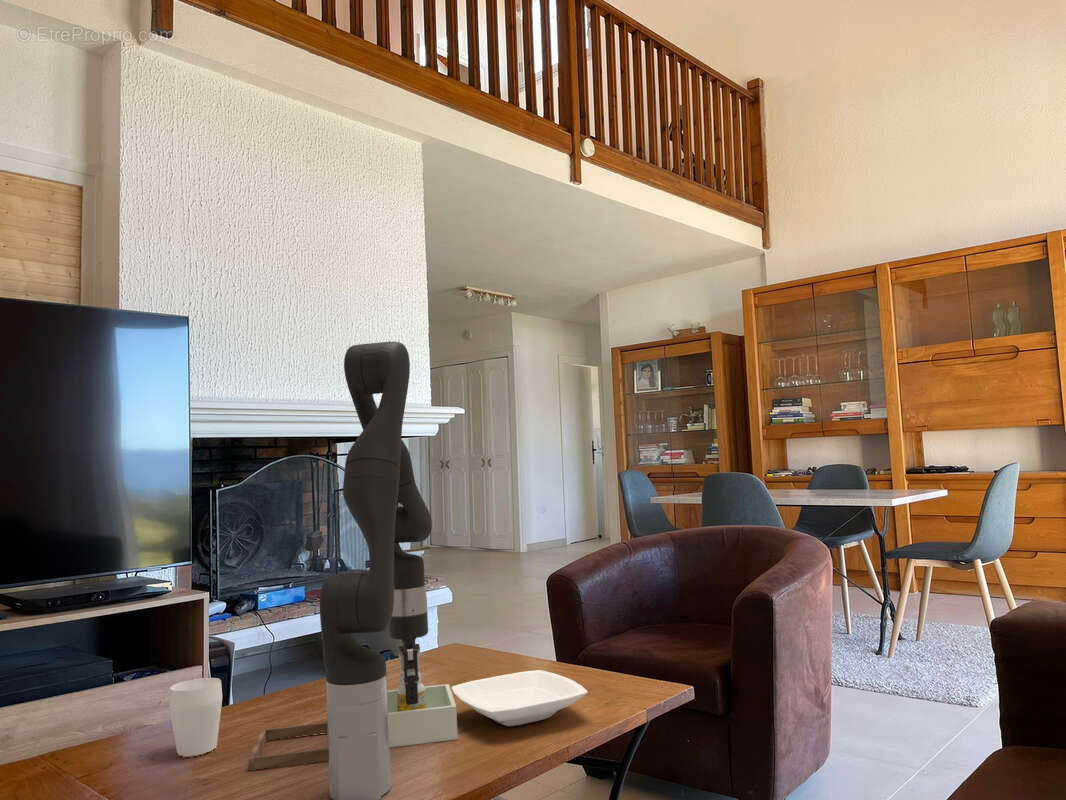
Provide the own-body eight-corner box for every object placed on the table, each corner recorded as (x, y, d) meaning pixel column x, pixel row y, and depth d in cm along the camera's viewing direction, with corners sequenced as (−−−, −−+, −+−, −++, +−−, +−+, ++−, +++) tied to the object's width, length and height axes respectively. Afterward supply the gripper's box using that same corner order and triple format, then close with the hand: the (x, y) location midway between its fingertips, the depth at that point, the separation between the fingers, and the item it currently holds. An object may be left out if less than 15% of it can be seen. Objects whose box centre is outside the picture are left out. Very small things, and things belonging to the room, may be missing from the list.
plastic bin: (457, 739, 142) (456, 706, 143) (370, 749, 139) (368, 716, 140) (450, 713, 158) (448, 683, 158) (371, 722, 155) (369, 692, 155)
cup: (165, 763, 138) (164, 693, 139) (174, 746, 147) (173, 681, 148) (220, 755, 141) (219, 687, 142) (226, 739, 149) (224, 675, 150)
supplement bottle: (430, 726, 148) (428, 674, 148) (403, 732, 145) (401, 679, 146) (420, 719, 152) (418, 668, 153) (394, 725, 150) (392, 673, 151)
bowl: (442, 715, 157) (441, 686, 158) (545, 694, 168) (544, 667, 168) (486, 748, 137) (485, 714, 138) (600, 722, 148) (598, 691, 148)
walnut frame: (343, 759, 136) (343, 747, 136) (249, 771, 133) (248, 758, 133) (347, 730, 151) (347, 719, 151) (262, 740, 148) (262, 729, 148)
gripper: (429, 615, 144) (433, 706, 143) (425, 603, 158) (428, 685, 157) (388, 619, 143) (391, 711, 141) (387, 606, 157) (390, 689, 155)
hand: (411, 697), depth 149 cm, fingers open, 8 cm apart
